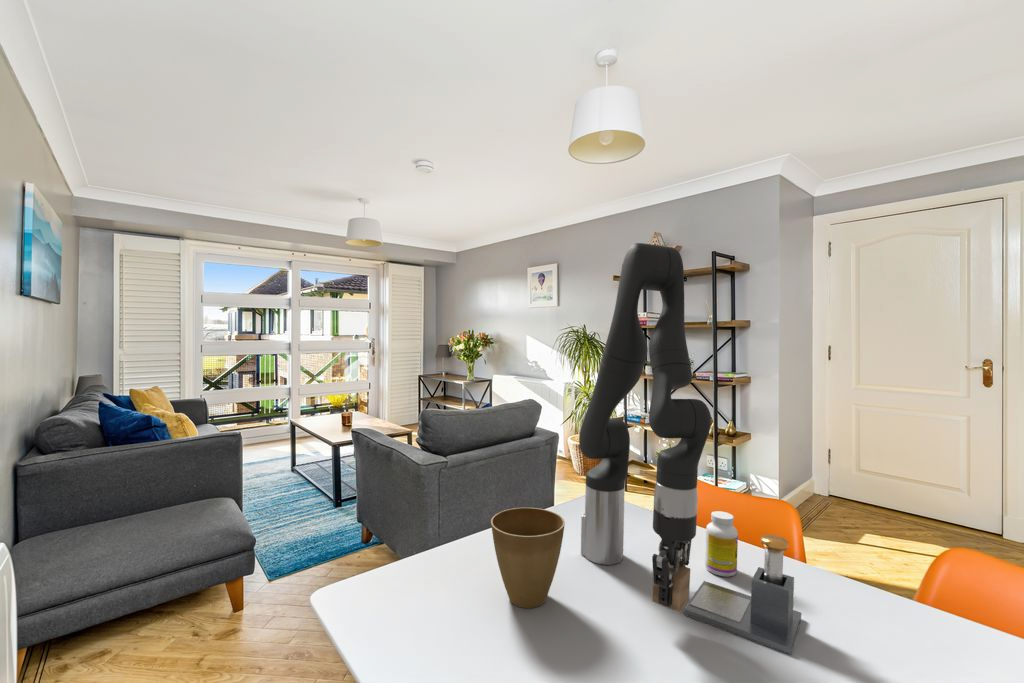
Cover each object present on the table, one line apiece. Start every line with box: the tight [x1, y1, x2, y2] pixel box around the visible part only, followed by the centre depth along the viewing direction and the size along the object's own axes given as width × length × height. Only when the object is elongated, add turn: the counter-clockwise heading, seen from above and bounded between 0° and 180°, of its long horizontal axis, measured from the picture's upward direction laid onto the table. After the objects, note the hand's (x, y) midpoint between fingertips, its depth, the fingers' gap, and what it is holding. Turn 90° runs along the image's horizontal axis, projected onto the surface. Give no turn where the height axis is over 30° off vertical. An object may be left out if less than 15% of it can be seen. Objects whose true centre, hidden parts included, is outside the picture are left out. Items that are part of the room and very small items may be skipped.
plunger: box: [760, 534, 789, 586], centre depth 89 cm, size 4×4×11 cm
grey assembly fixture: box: [683, 566, 802, 656], centre depth 92 cm, size 18×13×9 cm
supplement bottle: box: [704, 510, 739, 578], centre depth 110 cm, size 7×7×13 cm
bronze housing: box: [651, 565, 691, 613], centre depth 88 cm, size 5×5×6 cm
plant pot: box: [490, 507, 566, 609], centre depth 97 cm, size 15×15×16 cm
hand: (670, 596), depth 89 cm, fingers closed on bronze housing, 5 cm apart
